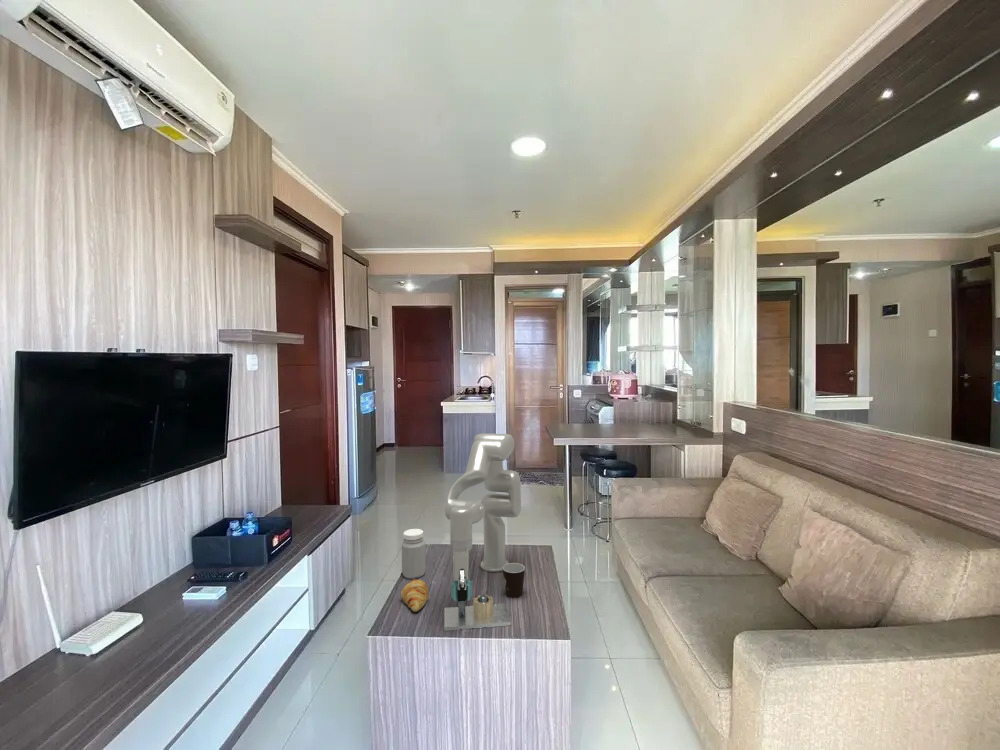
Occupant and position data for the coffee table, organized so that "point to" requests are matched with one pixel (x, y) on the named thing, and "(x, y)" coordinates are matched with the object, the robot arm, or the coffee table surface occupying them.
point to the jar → (413, 554)
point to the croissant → (415, 594)
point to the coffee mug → (513, 579)
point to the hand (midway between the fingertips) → (461, 594)
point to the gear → (455, 586)
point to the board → (476, 615)
